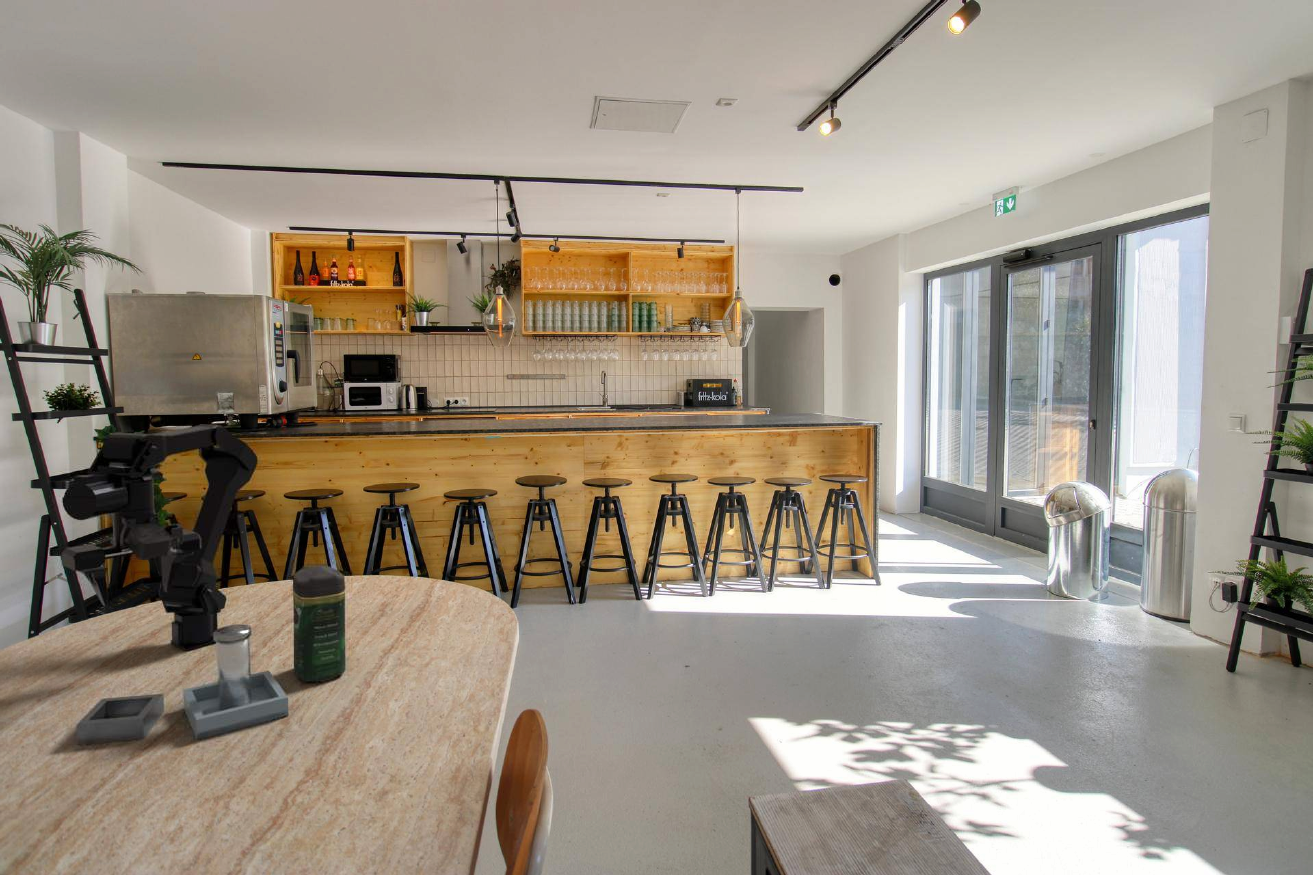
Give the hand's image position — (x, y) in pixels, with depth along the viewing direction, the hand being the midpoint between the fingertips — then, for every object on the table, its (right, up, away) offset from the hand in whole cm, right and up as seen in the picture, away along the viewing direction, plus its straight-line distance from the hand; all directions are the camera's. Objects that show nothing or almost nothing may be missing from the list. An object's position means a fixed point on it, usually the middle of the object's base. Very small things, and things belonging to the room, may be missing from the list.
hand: (136, 598), depth 124 cm
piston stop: (+23, -14, -11) cm, 30 cm away
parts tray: (+23, -15, -11) cm, 30 cm away
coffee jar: (+29, -14, +4) cm, 33 cm away
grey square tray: (+10, -15, -17) cm, 25 cm away
